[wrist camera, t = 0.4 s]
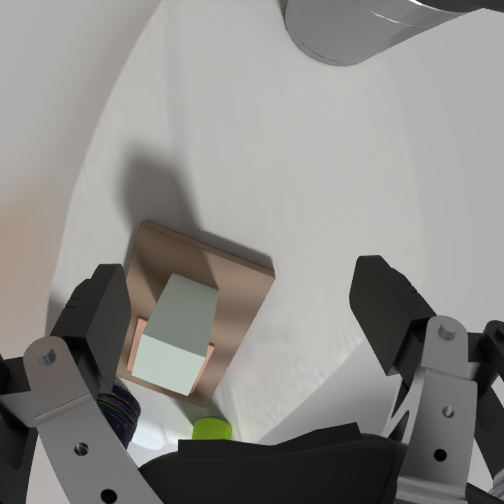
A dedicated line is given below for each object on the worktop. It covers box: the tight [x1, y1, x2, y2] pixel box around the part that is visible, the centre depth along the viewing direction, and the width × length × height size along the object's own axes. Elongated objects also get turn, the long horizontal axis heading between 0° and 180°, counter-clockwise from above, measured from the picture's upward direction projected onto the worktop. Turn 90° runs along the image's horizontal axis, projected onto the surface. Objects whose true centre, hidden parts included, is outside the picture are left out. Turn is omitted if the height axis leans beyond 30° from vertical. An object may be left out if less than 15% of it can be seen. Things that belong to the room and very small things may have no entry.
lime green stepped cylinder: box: [192, 418, 232, 440], centre depth 34 cm, size 6×7×20 cm
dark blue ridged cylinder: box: [96, 384, 141, 451], centre depth 35 cm, size 10×10×15 cm
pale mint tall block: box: [132, 273, 219, 396], centre depth 27 cm, size 5×5×10 cm
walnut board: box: [116, 220, 275, 408], centre depth 34 cm, size 22×14×2 cm, turn 157°
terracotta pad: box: [127, 317, 215, 393], centre depth 35 cm, size 9×9×1 cm
